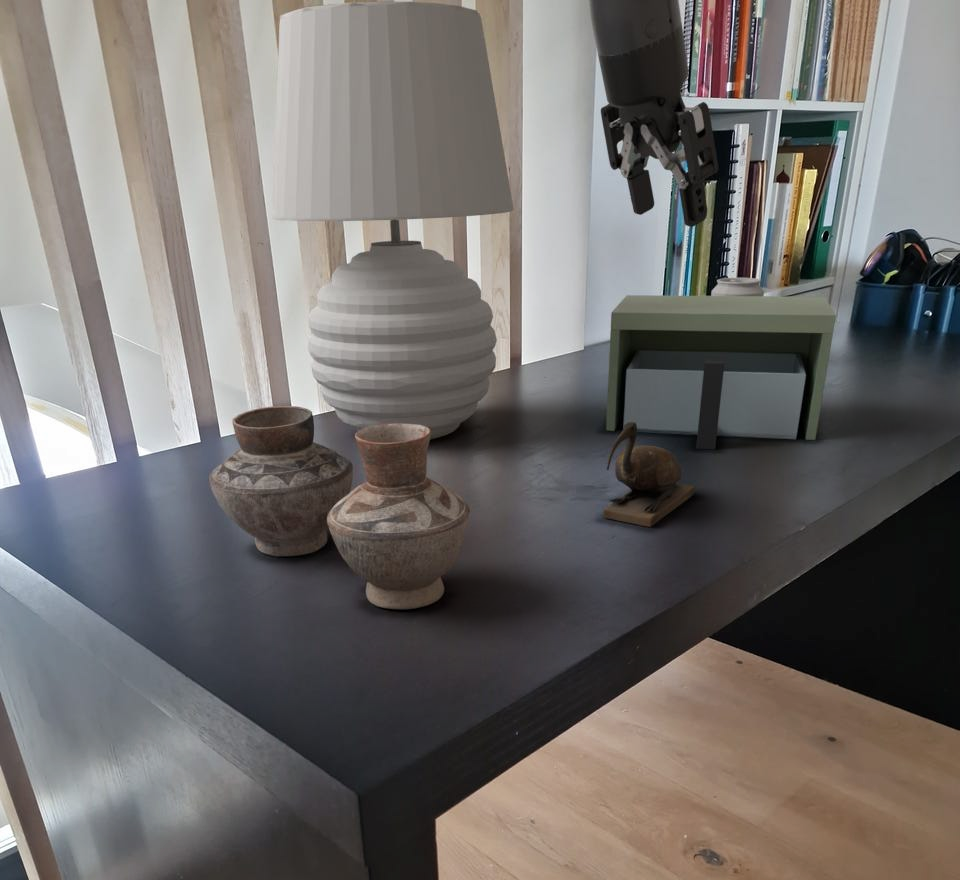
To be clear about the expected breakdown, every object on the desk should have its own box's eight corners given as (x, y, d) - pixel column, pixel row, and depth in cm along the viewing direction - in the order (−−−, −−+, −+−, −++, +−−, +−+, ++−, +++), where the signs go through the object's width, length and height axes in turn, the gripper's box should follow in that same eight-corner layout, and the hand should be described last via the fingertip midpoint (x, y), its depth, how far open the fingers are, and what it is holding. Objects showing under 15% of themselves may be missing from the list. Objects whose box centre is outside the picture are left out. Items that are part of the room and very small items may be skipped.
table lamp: (403, 478, 86) (367, -17, 67) (257, 436, 101) (194, 23, 82) (558, 424, 102) (565, 13, 83) (412, 395, 117) (390, 42, 98)
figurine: (629, 544, 70) (635, 438, 65) (580, 533, 72) (583, 431, 68) (694, 494, 80) (703, 400, 75) (649, 486, 82) (656, 394, 78)
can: (764, 362, 131) (775, 277, 125) (740, 370, 126) (750, 282, 120) (719, 356, 135) (728, 274, 130) (695, 364, 131) (703, 279, 125)
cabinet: (815, 440, 94) (836, 315, 88) (605, 430, 99) (611, 312, 93) (807, 409, 106) (825, 296, 99) (620, 402, 111) (626, 295, 105)
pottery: (392, 643, 56) (377, 466, 50) (196, 547, 71) (167, 402, 66) (508, 587, 63) (507, 425, 57) (307, 510, 78) (290, 377, 73)
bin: (798, 453, 90) (812, 365, 85) (617, 444, 94) (621, 360, 90) (791, 412, 104) (802, 335, 100) (634, 406, 109) (639, 332, 105)
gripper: (724, 12, 71) (746, 209, 82) (626, 17, 82) (657, 191, 93) (652, 52, 70) (683, 246, 81) (561, 51, 81) (600, 223, 91)
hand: (669, 216), depth 87 cm, fingers open, 8 cm apart
